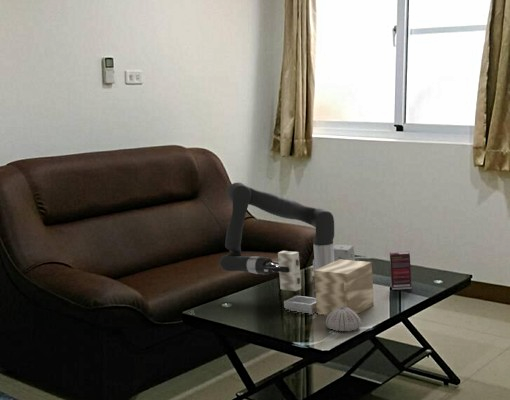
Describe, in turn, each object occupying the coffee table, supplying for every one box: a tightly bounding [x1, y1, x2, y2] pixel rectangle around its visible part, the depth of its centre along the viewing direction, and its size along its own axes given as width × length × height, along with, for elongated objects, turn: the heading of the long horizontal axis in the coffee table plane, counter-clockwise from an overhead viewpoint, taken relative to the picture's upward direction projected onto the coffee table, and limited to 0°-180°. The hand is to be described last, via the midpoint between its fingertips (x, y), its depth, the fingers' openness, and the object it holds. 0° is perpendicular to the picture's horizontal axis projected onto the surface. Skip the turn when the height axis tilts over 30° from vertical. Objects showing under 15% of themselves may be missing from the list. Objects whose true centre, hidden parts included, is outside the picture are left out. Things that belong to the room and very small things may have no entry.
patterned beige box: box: [311, 259, 375, 316], centre depth 323 cm, size 17×20×18 cm
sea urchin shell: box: [325, 307, 362, 332], centre depth 299 cm, size 13×14×8 cm
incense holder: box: [333, 244, 356, 262], centre depth 394 cm, size 10×8×10 cm
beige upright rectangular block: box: [277, 250, 302, 292], centre depth 338 cm, size 9×4×16 cm, turn 53°
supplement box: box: [389, 251, 413, 291], centre depth 347 cm, size 9×5×16 cm, turn 84°
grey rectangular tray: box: [283, 295, 317, 315], centre depth 327 cm, size 13×9×4 cm
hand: (291, 268), depth 338 cm, fingers closed on beige upright rectangular block, 4 cm apart
